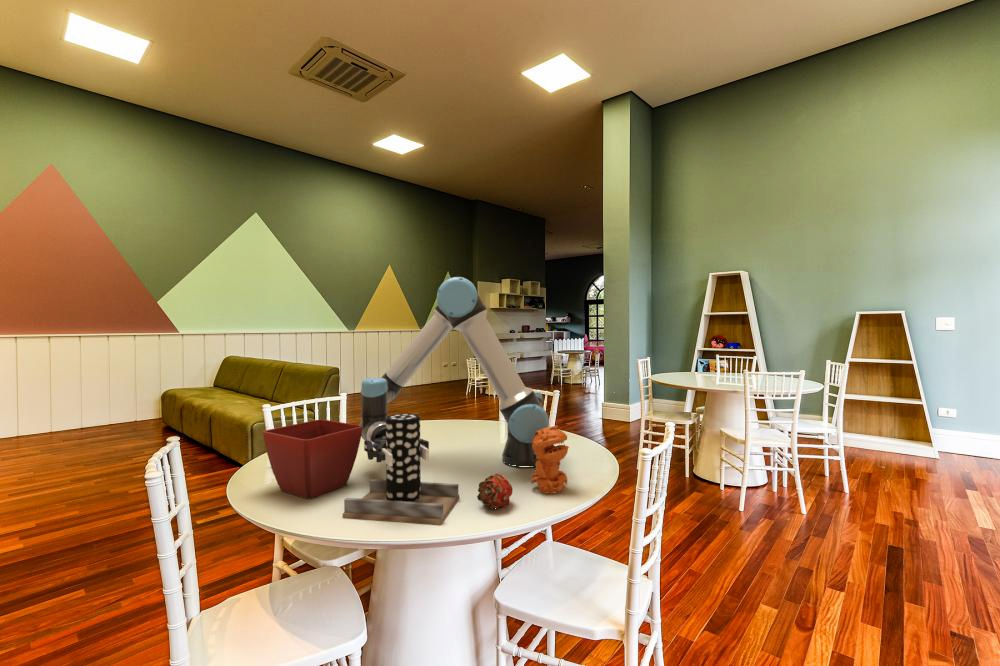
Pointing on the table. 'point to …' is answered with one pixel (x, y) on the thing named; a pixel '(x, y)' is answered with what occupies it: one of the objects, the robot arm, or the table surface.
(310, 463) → the plant pot
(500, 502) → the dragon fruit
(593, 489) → the table surface
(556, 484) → the toy dinosaur
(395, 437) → the spotted tube
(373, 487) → the track
